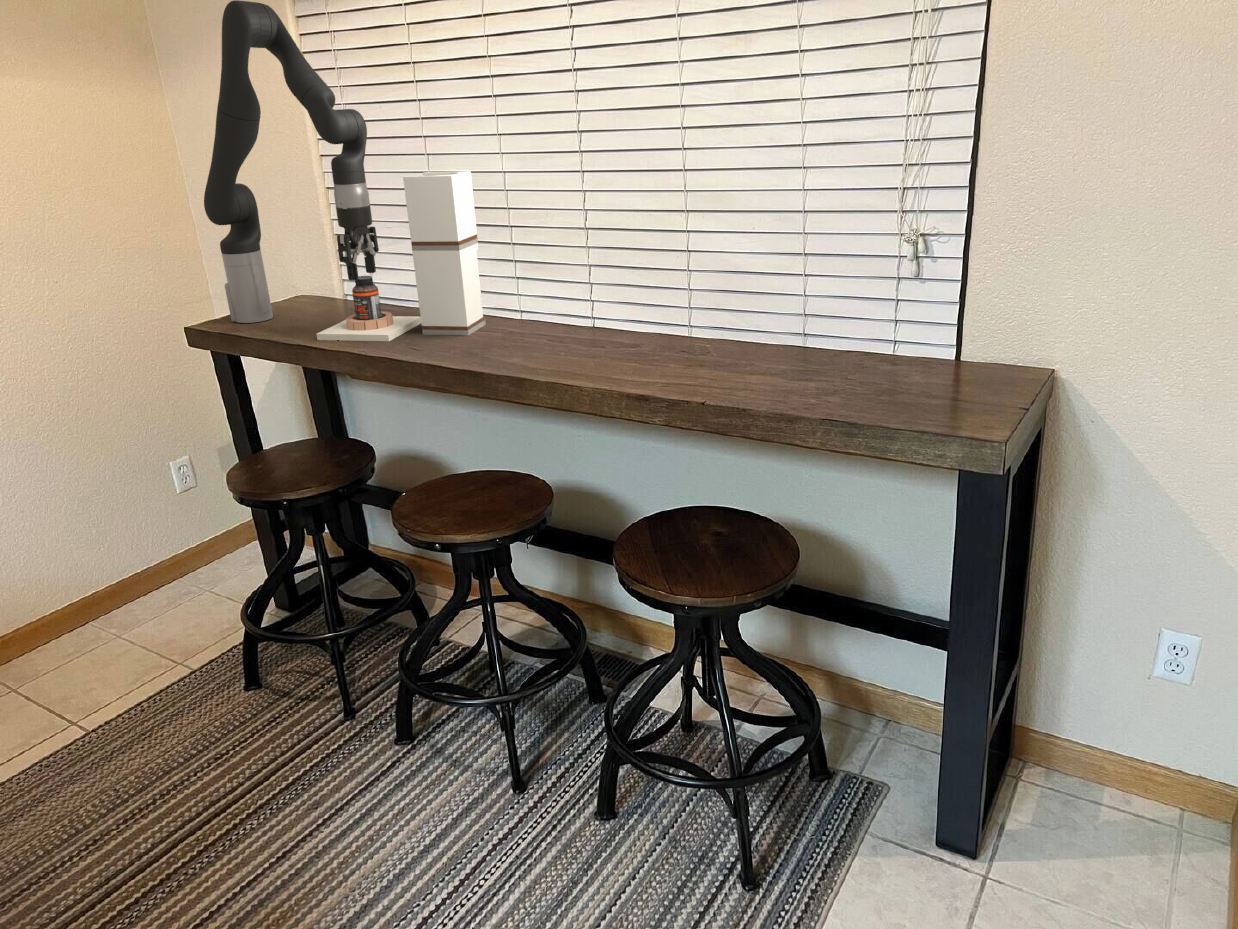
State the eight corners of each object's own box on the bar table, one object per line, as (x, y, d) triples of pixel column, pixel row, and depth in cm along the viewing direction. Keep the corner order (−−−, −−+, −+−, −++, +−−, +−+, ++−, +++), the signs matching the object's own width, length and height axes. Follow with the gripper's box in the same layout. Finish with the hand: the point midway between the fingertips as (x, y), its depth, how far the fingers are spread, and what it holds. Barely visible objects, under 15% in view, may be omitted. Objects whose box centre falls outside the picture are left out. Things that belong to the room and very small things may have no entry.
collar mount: (317, 340, 211) (314, 325, 210) (355, 321, 227) (353, 307, 226) (388, 341, 207) (386, 326, 206) (422, 322, 223) (420, 308, 222)
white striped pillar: (485, 324, 219) (470, 171, 206) (468, 335, 209) (451, 175, 196) (441, 323, 222) (424, 172, 208) (422, 334, 212) (403, 176, 199)
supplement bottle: (352, 327, 215) (344, 279, 211) (365, 321, 220) (358, 274, 216) (374, 328, 213) (367, 279, 209) (387, 322, 218) (381, 274, 214)
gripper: (353, 200, 213) (362, 270, 220) (321, 208, 201) (332, 282, 207) (382, 200, 212) (391, 270, 218) (352, 208, 199) (362, 282, 205)
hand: (362, 276), depth 212 cm, fingers open, 8 cm apart
